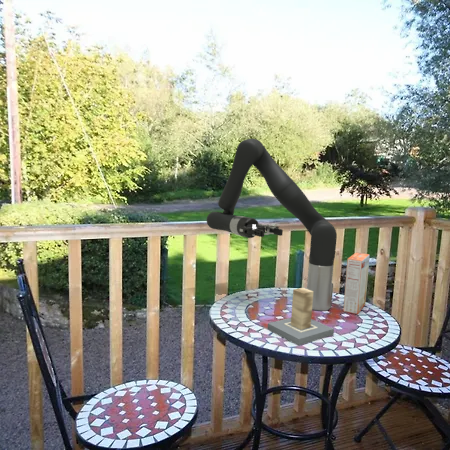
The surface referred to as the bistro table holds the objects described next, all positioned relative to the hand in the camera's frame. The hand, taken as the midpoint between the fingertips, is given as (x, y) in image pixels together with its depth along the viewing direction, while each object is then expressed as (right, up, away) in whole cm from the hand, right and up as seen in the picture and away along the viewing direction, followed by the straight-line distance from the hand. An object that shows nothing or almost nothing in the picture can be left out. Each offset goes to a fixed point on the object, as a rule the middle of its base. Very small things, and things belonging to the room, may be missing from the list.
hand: (272, 233), depth 140 cm
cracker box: (+34, -30, +17) cm, 48 cm away
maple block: (+8, -30, -9) cm, 32 cm away
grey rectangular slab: (+8, -32, -9) cm, 34 cm away
